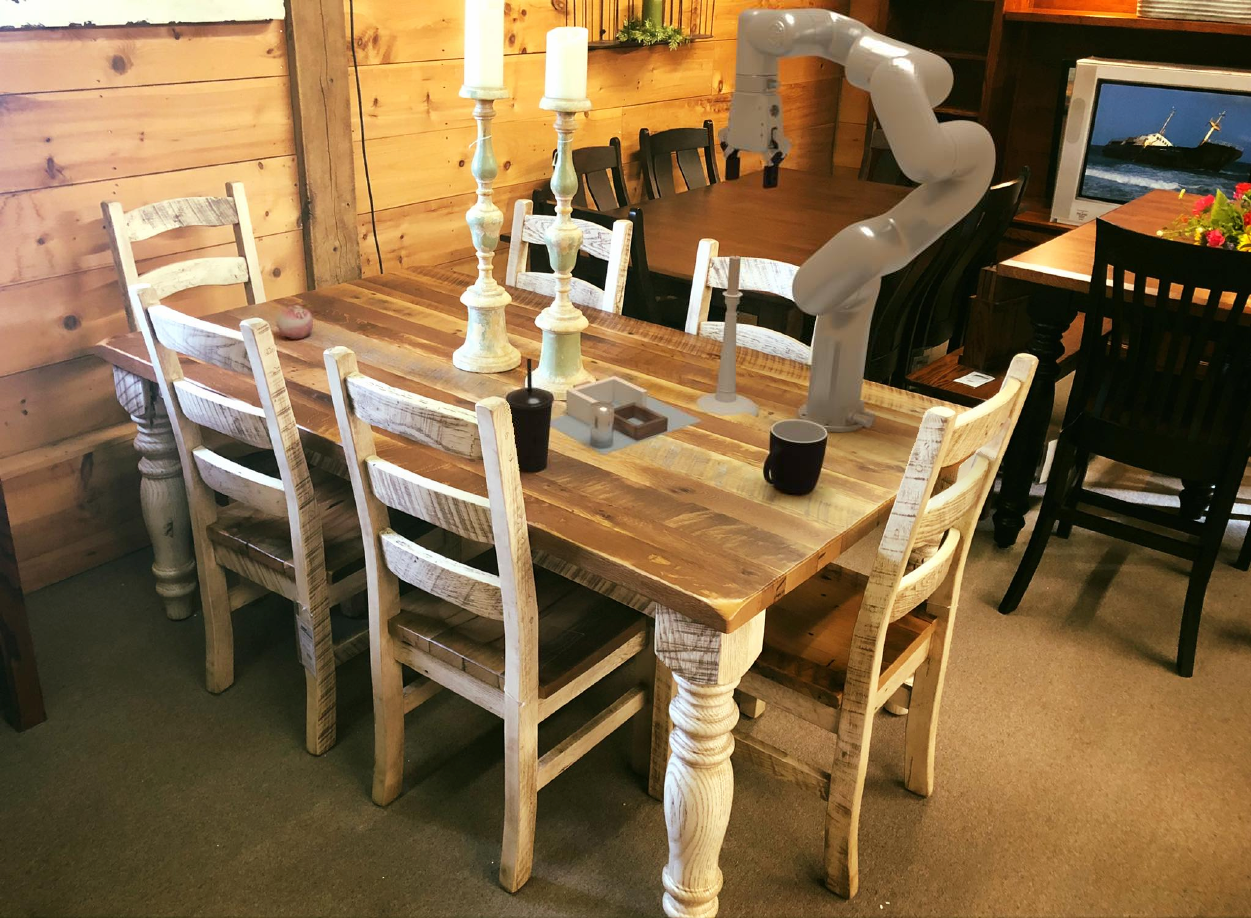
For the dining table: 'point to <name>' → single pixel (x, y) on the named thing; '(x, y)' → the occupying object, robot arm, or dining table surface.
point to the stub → (601, 424)
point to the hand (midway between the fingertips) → (750, 183)
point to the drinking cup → (531, 424)
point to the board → (582, 432)
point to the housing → (602, 396)
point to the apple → (295, 322)
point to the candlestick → (729, 357)
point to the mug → (795, 456)
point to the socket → (651, 420)
